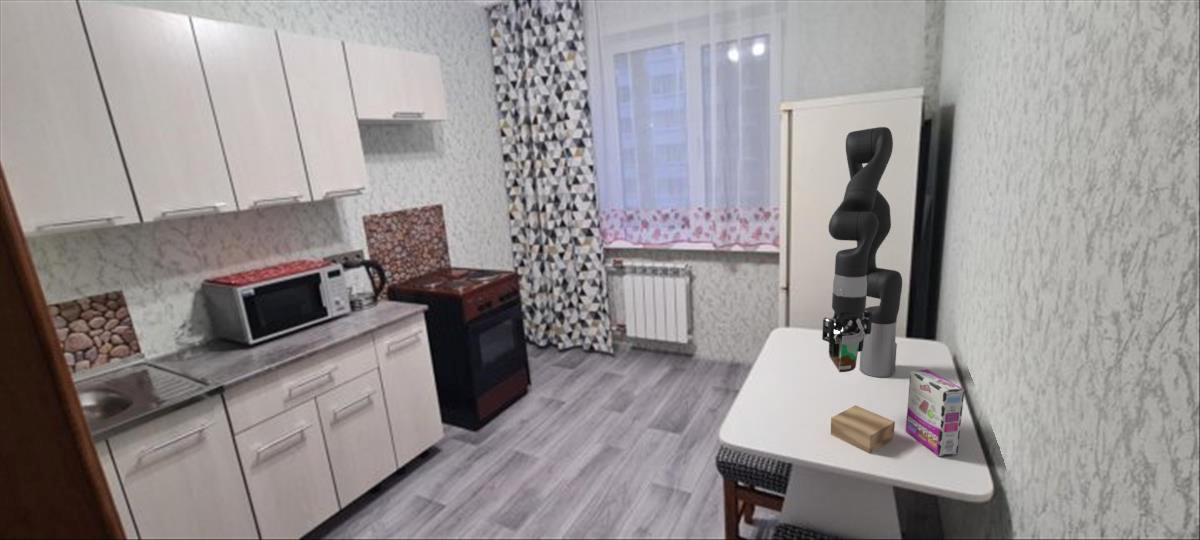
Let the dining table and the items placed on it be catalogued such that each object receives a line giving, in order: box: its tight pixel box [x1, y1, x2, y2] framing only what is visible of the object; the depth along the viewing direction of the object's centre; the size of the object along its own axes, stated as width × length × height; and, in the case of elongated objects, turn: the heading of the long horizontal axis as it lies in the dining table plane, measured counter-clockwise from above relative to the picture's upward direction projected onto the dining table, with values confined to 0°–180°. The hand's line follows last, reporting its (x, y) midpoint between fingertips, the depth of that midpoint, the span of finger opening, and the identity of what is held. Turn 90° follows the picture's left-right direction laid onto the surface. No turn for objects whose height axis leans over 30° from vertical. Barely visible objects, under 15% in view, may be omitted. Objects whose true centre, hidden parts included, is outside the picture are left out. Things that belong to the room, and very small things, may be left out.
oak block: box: [830, 404, 896, 455], centre depth 120 cm, size 10×10×5 cm
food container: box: [828, 328, 863, 373], centre depth 124 cm, size 12×6×10 cm, turn 169°
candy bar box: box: [905, 369, 965, 458], centre depth 114 cm, size 11×5×16 cm, turn 5°
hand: (845, 353), depth 124 cm, fingers closed on food container, 7 cm apart
